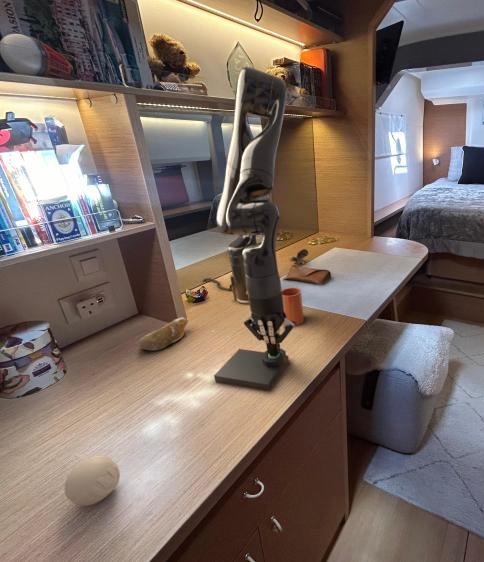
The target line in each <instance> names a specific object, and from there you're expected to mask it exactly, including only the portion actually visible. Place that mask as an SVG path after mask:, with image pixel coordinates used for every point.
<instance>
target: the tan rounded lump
mask: <svg viewBox="0 0 484 562" xmlns="http://www.w3.org/2000/svg"><path fill="white" fill-rule="evenodd" d="M120 473H121V472H120V469H119V466H118V464H117V463H116V461H115V460H114V459H112V458H110V457H108V456H106V455H93V456H90V457H87V458H85V459H83V460H81V461H79V462H78V463H77V464H76V465H74V467H72V468H71V470H70V471H69V473H68V475H67V476H66V479H65V482H64V495H65V497H66V498H67V500H69V501H70V502H71V503H73V504H75V505H77V506H84V507H85V506H86V507H87V506H91V505H95V504H97V503H99V502H100V501H101V502H102V501H103V500H104V499H105V498H107V496H109V495H110V493H112V492H113V491H114V490H115V489H116V488H117V486H118V484H119V482H120V477H121V474H120Z"/></svg>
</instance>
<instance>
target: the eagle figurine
mask: <svg viewBox="0 0 484 562" xmlns="http://www.w3.org/2000/svg"><path fill="white" fill-rule="evenodd" d="M308 255H309V251H308V249H304V248H303V249H301V250H299V251H298V252H297V254H296V256H294V255H293V256H291V257H290V258H289V262H290V263H293V265H295V266H299V267H300V264H302V265H304V266H305V265H306V264H305V261H304V258H306V257H308Z"/></svg>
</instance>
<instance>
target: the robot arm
mask: <svg viewBox="0 0 484 562" xmlns="http://www.w3.org/2000/svg"><path fill="white" fill-rule="evenodd" d="M235 87H236V88H235V96H234V97H235V98H234V109H233V121H232V130H231V137H230V141H229V148H228V153H227V158H226V165H225V173H224V180H223V185H222V186H223V187H222V192H221V196H220V199H219V203H218V206H217V209H216V210H217V211H216V217H215V218H216V219H215V220H216V226H217V229H218V230H219V232H220V234H222V235H224V236H234V235H235V236H238V237H237V238H236V239H235V240H233V241H232V242H230V243H229V244H228V245H227V254H228V258H229V265H230V269H231V274H230V277H229V278H230V284H229V288H226V287H223V286H221V285H220V283H219V281H218V280H216V279H214V278H210V277H205V278H206V280H205V278H204V279H203V280H202V282H206V281H211V282H214V283H216V287H217V288H218V289H220V290H223V291H228V292H229V291H232V293H233V298H234V302H235V301H236V302H237V303H239V304H246V305H247V304H249V309H250V312H251V313H250V316H249V317H247V318H246V320H244V321H243V325H244V326H245V327H246V328H247V329H248V330H249V332H250V333H251V334H252V335H253V336H254V337H255V338H256V339H257V340H258V341H263V342H264V343H265V346H266V351H267V352H268V353H269V354H270V356H274V357H276V356H277V355H278V353H279V352H280V349H281V344H282V343H283V342H284V341H285V339H286V338H287V337H288V336H289V334H290V333H291V331H292V330H293V329H294V328H295V327H296V326H295V325H296V322H295V321H292V322H291V321H289V320H288V319H287V318H286V314H285V312H284V304H283V296H282V290H283V289H282V282H281V276H280V273H279V267H278V261H277V238H278V233H279V226H280V219H281V217H280V215H281V213H280V211H279V208H278V206H277V205H276V203H274V201H272V200H268V199H262V198H265V197H268V196H269V195H271V194H272V192H273V190H274V183H275V182H274V180H275V165H276V155H277V151H278V146H279V142H280V137H281V131H282V126H283V121H284V117H285V111H286V104H287V96H288V90H287V89H288V88H287V84H286V81H285V80H284V79H283V78H281V77H279V76H277V75H274V74H271V73H268V72H265V71H262V70H260V69H257V68H253V67H250V66H244V67H242V68H241V69H240V71H239V73H238V76H237V81H236V86H235ZM249 114H250V115H252V116H257V117H259V118H264V119H267V121H268V122H267V124H266V125H265V127H264V128H263V129H262V130H261V131H260V132H259V133H258V134H257V135H256V136H255V137H254V135H253V132H252V129H251V126H250V122H249V121H250V120H249V116H248V115H249ZM259 199H260V200H259ZM257 236H262V239H261V240H262V241H261V242H257ZM282 325H283V332H282V333H281V334H280V331H281V327H282Z"/></svg>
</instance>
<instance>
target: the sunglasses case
mask: <svg viewBox="0 0 484 562" xmlns="http://www.w3.org/2000/svg"><path fill="white" fill-rule="evenodd" d="M331 278H332V272H331V271H330V270H328V269H320V268H314V267H305V266H300V265H299V266H297V265H296V264H292V265H291V267H290V269H289V271H288V273H286V276H285V277H284V278H283V280H286V281H293V282H299V283H305V284H309V285H310V284H311V285H322V286H323V285H324V284H327V282H329V281H331Z"/></svg>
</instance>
